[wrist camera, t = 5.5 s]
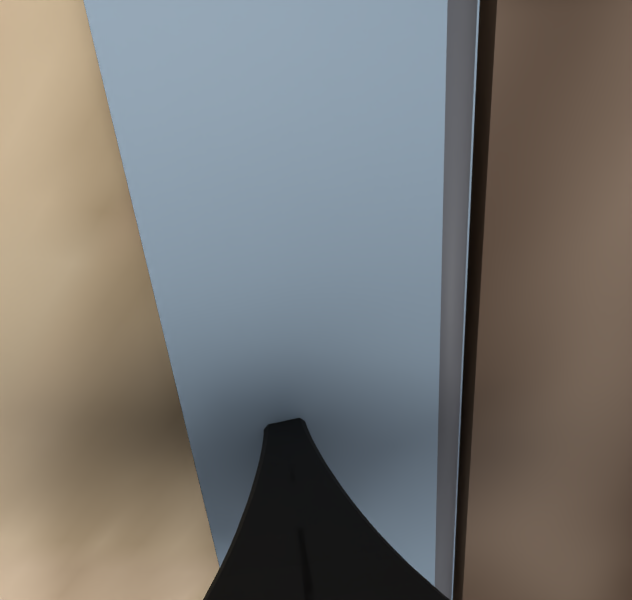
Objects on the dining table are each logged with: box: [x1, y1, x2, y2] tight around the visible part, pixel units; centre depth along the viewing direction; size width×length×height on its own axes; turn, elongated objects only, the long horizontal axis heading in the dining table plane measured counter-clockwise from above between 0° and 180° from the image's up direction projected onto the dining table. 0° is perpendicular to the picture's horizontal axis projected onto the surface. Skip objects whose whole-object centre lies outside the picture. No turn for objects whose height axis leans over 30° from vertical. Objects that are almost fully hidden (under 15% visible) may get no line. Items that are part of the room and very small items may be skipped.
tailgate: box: [83, 0, 480, 600], centre depth 13 cm, size 1×19×6 cm
